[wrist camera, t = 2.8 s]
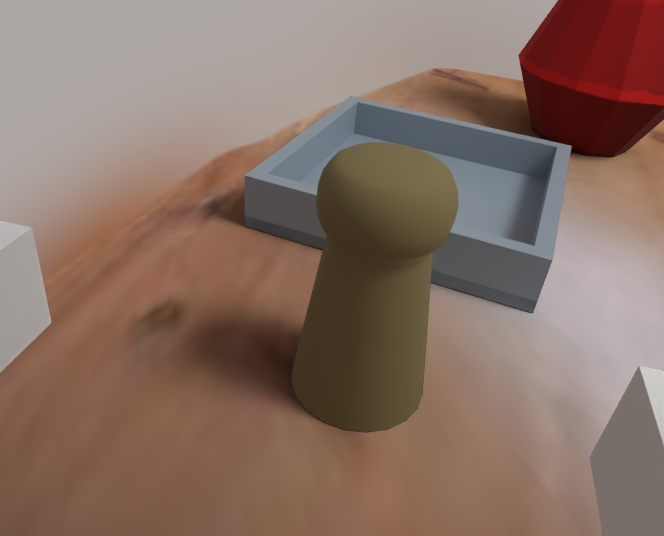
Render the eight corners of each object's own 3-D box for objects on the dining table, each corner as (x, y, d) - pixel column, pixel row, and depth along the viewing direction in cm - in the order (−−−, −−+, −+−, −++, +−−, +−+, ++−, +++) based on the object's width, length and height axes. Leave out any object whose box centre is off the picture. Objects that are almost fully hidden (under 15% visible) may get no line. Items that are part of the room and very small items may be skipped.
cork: (263, 369, 27) (272, 143, 21) (358, 320, 30) (389, 114, 24) (355, 456, 23) (399, 214, 17) (449, 389, 27) (514, 169, 21)
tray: (346, 135, 51) (350, 96, 49) (557, 187, 47) (571, 145, 45) (244, 226, 37) (244, 175, 35) (532, 313, 32) (552, 260, 30)
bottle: (473, 111, 60) (527, -123, 49) (575, 106, 65) (646, -108, 54) (577, 178, 48) (681, -109, 37) (693, 166, 53) (816, -92, 42)
